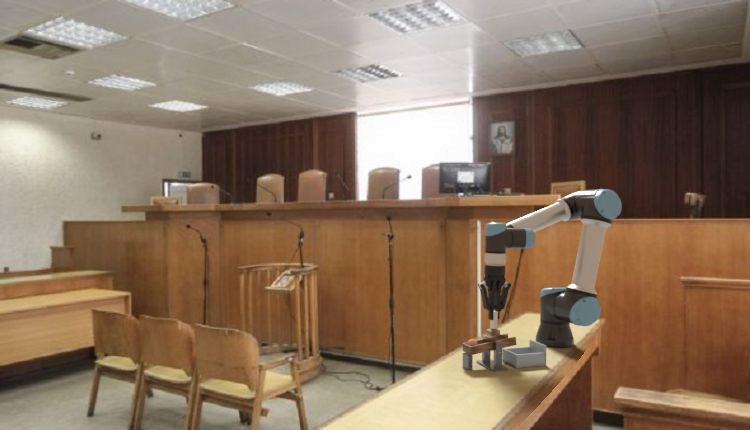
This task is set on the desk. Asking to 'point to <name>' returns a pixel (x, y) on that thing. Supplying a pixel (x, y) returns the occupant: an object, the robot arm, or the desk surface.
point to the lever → (489, 342)
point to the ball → (472, 342)
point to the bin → (526, 355)
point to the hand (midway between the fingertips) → (493, 328)
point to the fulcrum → (487, 358)
